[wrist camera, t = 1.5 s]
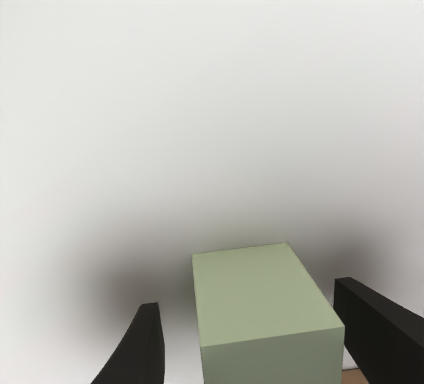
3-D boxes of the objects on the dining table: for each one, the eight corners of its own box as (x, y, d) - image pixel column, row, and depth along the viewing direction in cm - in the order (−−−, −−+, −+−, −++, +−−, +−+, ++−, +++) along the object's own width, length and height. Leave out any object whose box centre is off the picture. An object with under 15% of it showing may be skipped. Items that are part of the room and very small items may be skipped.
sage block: (287, 241, 14) (344, 326, 9) (287, 320, 15) (337, 429, 10) (191, 253, 14) (199, 346, 9) (199, 332, 15) (211, 449, 10)
